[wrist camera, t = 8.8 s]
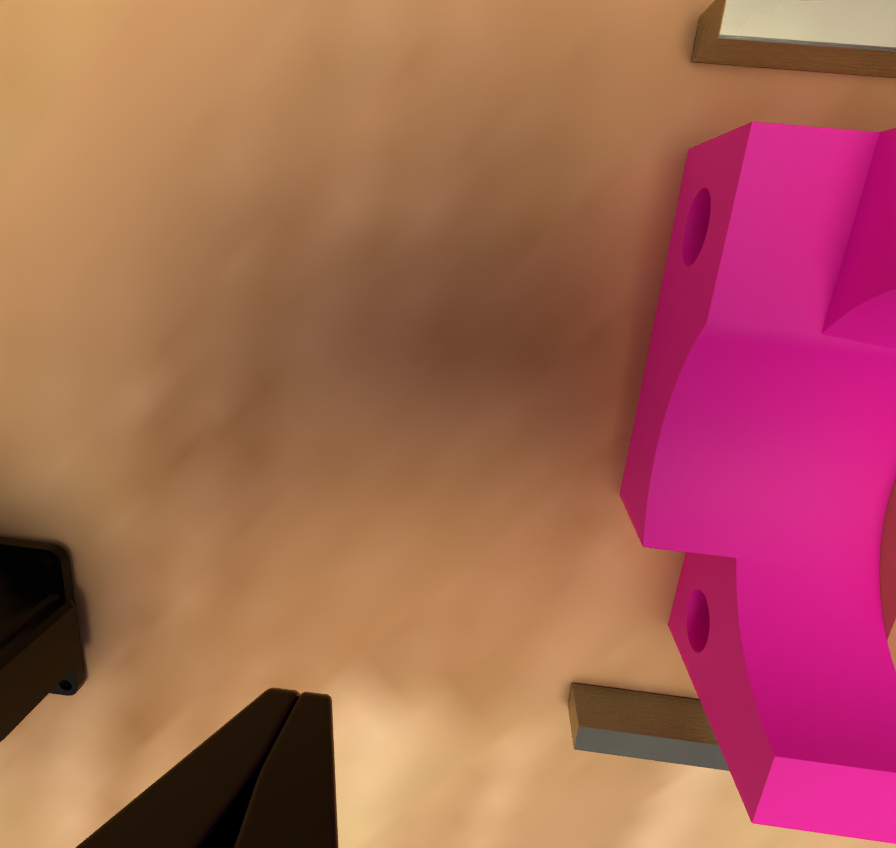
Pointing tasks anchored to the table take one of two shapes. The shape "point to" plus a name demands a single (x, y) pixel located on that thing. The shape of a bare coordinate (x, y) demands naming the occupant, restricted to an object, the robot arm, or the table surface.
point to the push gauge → (757, 45)
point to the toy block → (780, 464)
